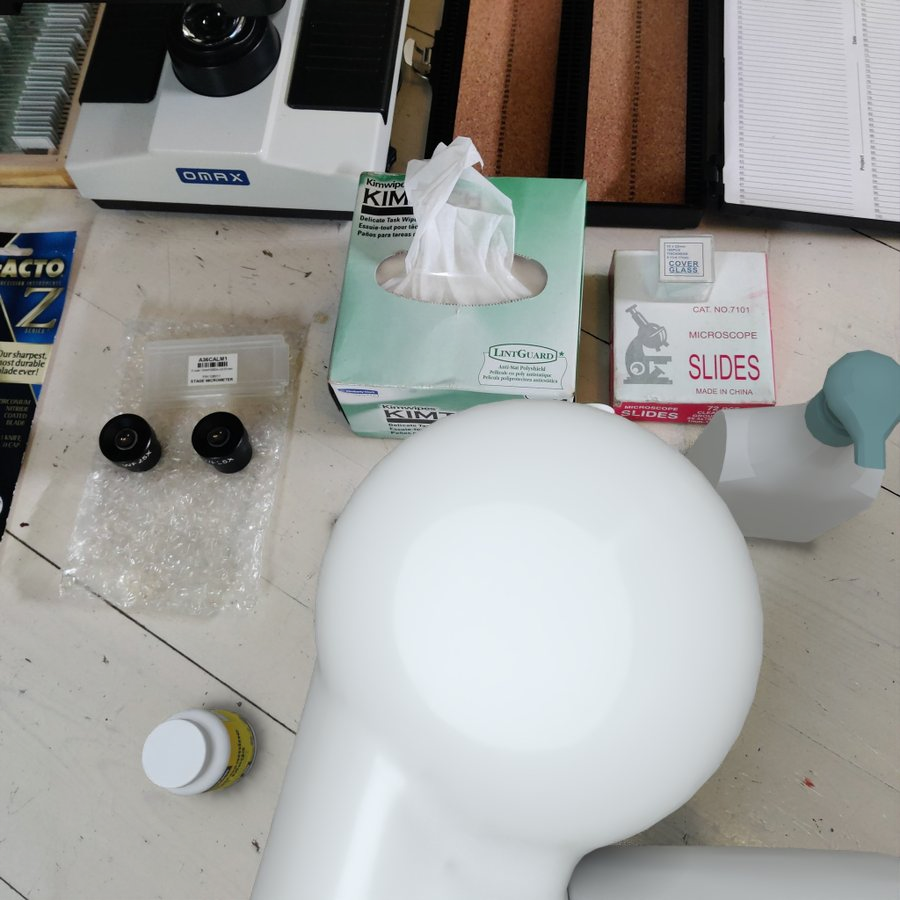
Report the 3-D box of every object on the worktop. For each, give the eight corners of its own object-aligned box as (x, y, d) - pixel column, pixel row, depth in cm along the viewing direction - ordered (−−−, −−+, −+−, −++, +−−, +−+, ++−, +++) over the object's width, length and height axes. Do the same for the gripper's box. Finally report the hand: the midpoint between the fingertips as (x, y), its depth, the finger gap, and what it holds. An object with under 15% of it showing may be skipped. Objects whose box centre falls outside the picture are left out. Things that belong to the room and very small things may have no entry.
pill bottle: (241, 799, 67) (193, 814, 56) (174, 773, 68) (115, 783, 57) (270, 724, 68) (229, 725, 58) (204, 699, 69) (152, 696, 59)
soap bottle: (677, 548, 71) (781, 451, 45) (681, 459, 74) (782, 319, 48) (806, 563, 70) (988, 473, 44) (805, 473, 73) (978, 336, 47)
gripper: (578, 1018, 21) (542, 879, 37) (698, 410, 26) (619, 523, 42) (306, 927, 22) (387, 830, 38) (469, 357, 27) (479, 487, 43)
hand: (508, 669), depth 40 cm, fingers open, 9 cm apart
